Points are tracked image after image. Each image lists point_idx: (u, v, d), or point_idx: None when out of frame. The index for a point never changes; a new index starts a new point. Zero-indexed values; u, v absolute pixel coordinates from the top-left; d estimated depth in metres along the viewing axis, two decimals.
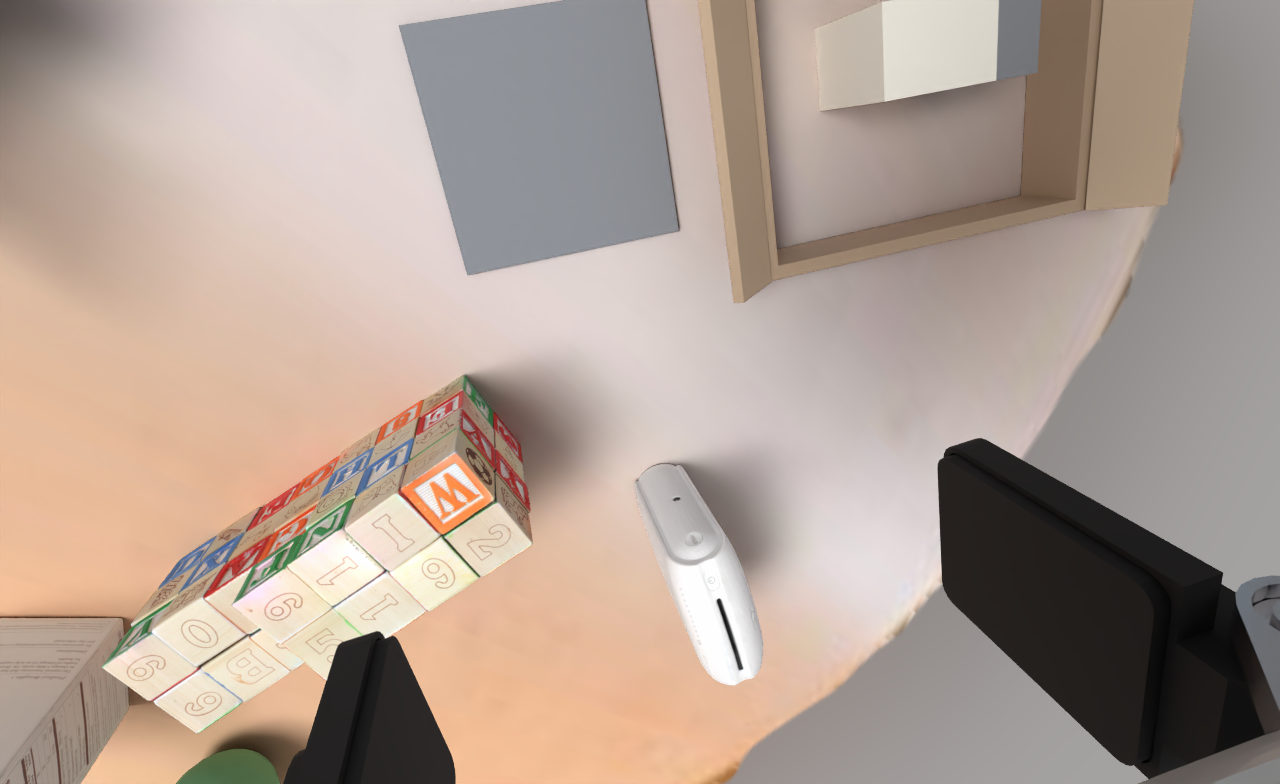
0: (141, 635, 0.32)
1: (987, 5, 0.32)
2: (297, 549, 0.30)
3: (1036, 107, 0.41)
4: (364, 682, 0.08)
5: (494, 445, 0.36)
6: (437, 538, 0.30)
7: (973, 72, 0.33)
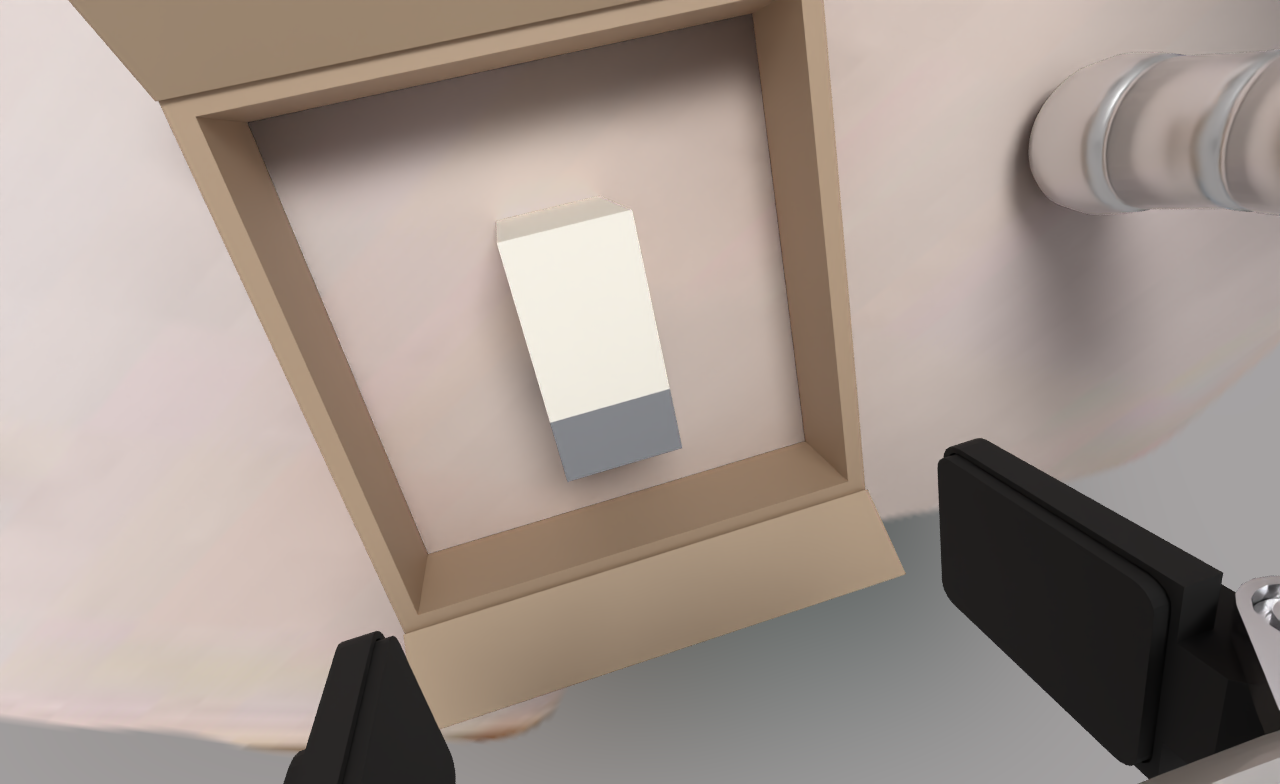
0: None
1: (641, 378, 0.23)
2: None
3: (539, 531, 0.31)
4: (364, 682, 0.08)
5: None
6: None
7: (556, 383, 0.22)
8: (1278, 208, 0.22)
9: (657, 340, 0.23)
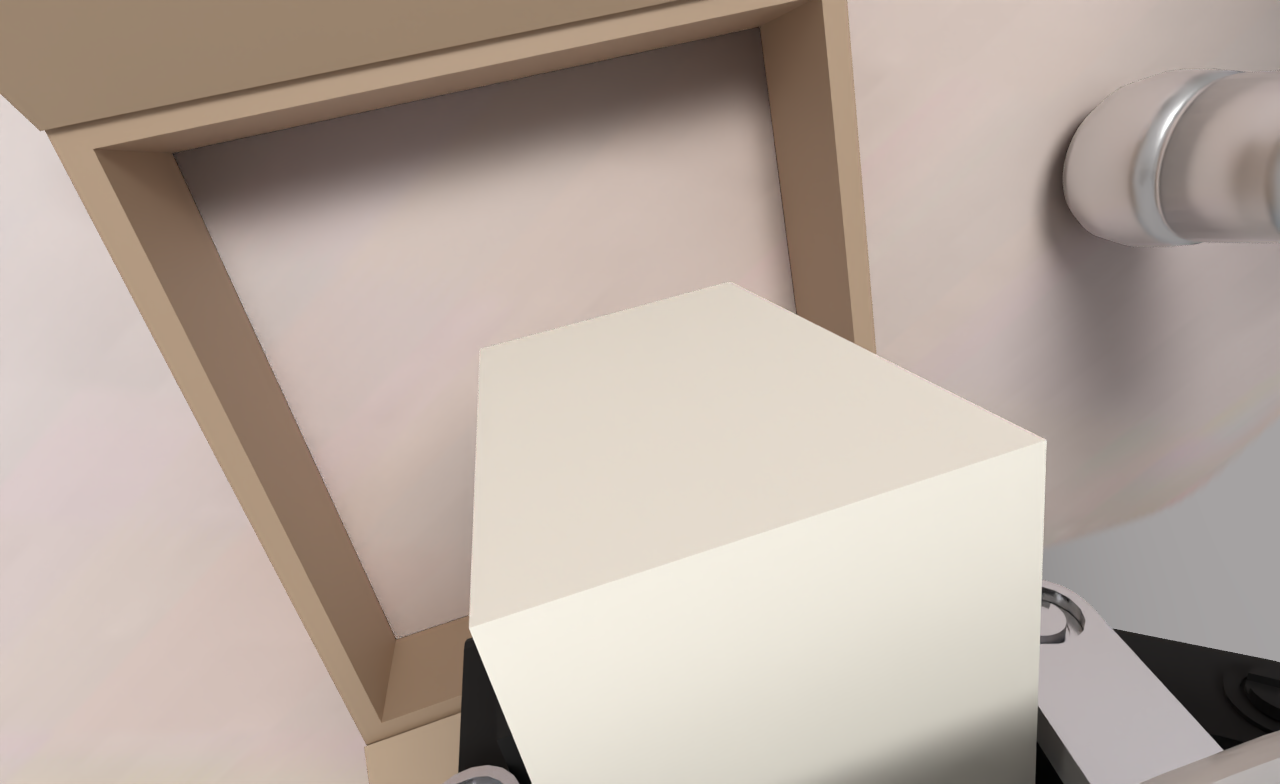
0: None
1: None
2: None
3: None
4: None
5: None
6: None
7: None
8: None
9: None
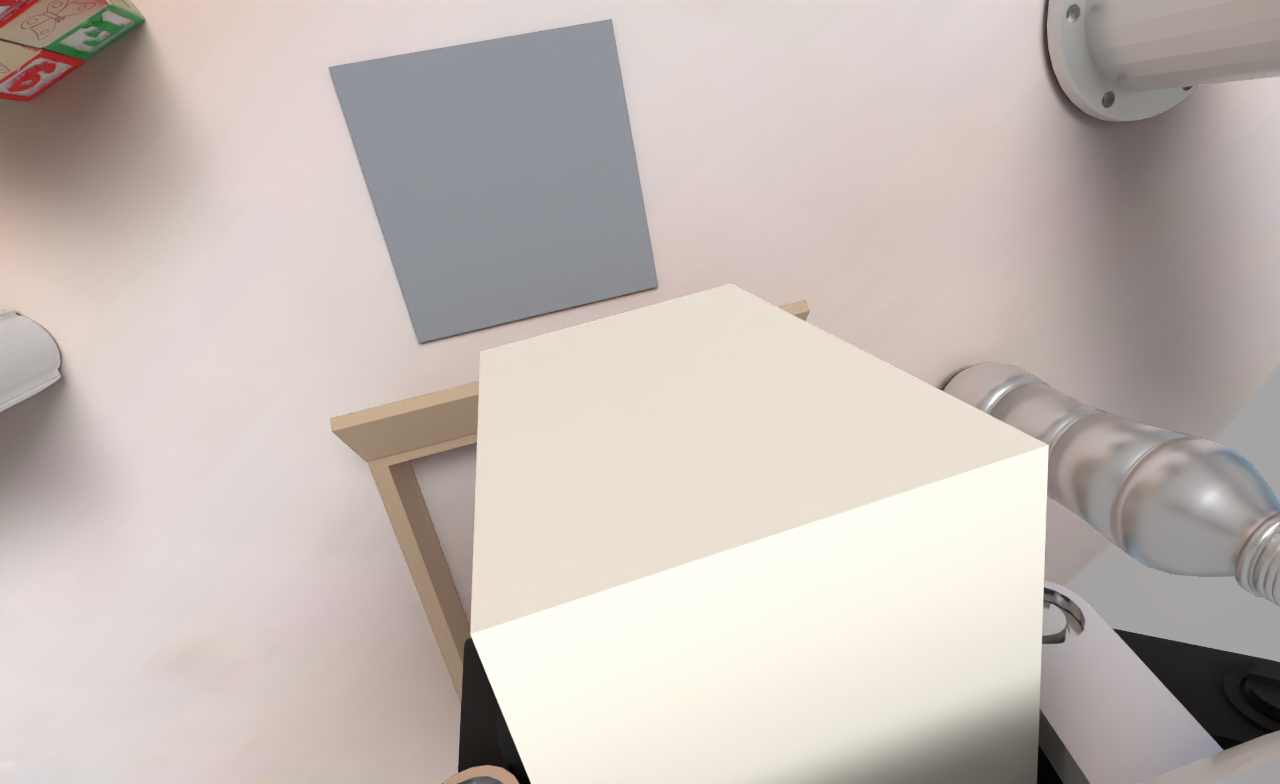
0: None
1: None
2: None
3: None
4: None
5: None
6: None
7: None
8: (1077, 514, 0.34)
9: None
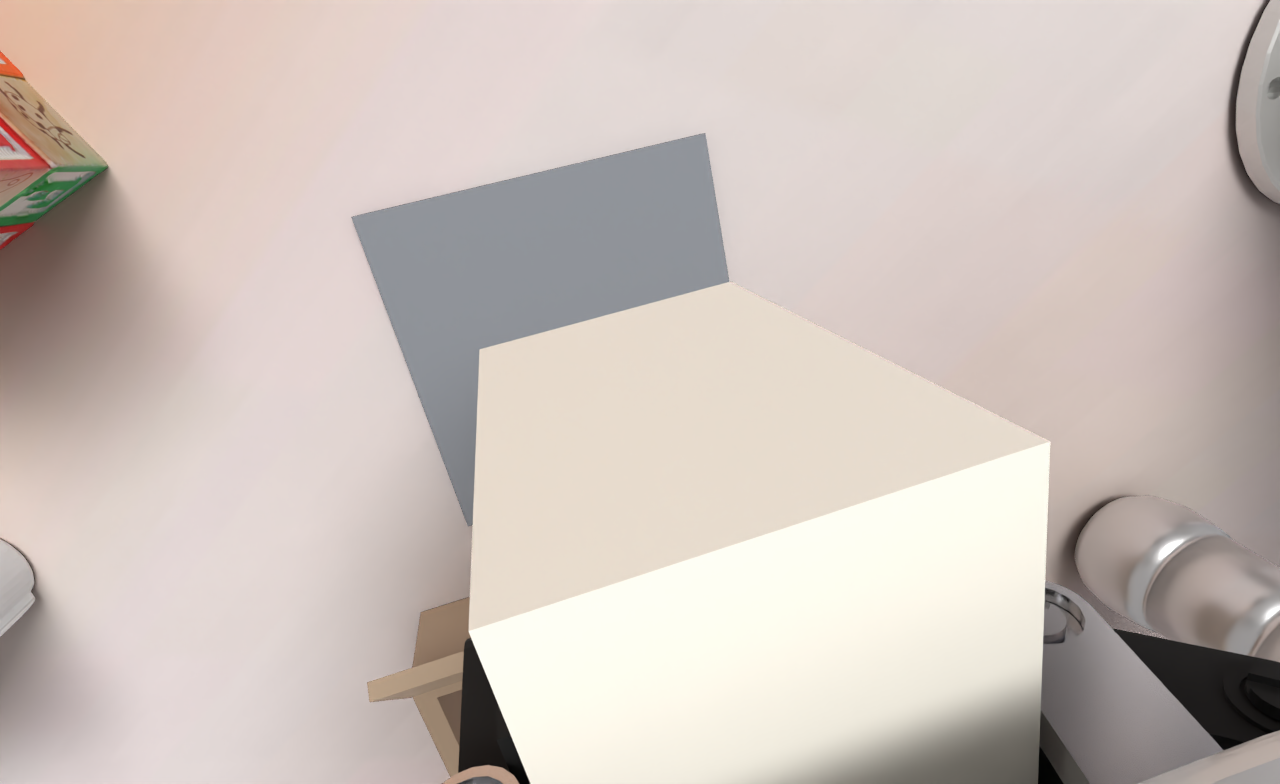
0: None
1: None
2: None
3: None
4: None
5: None
6: None
7: None
8: None
9: None
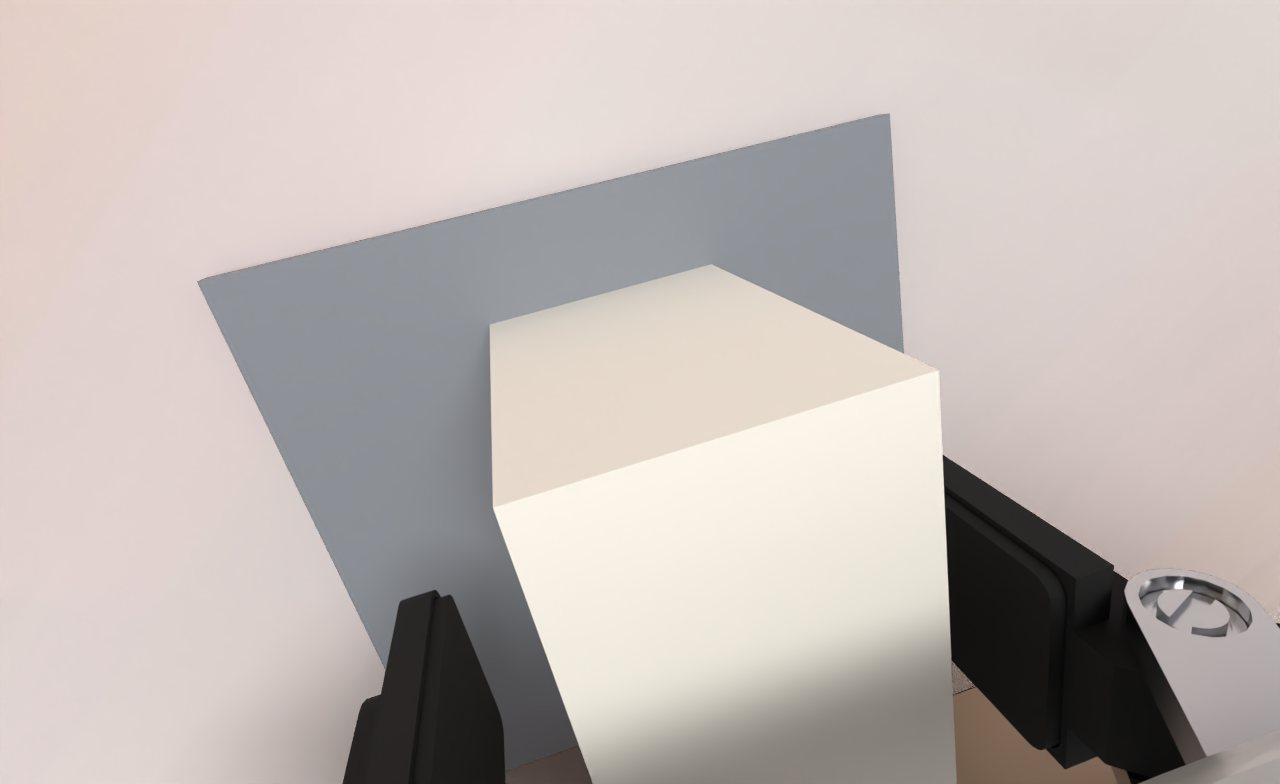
0: None
1: None
2: None
3: None
4: (429, 633, 0.09)
5: None
6: None
7: None
8: None
9: (948, 705, 0.08)
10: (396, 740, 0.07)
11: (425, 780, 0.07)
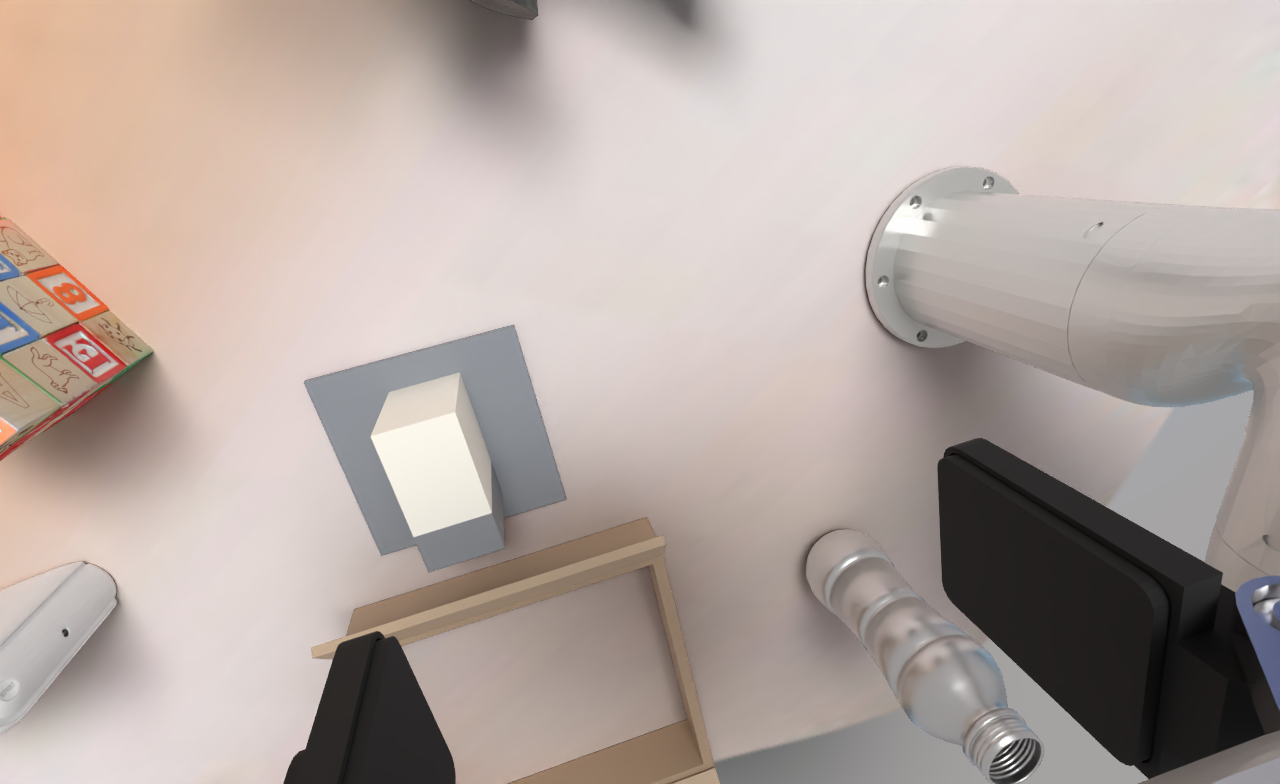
0: None
1: (472, 507, 0.36)
2: None
3: None
4: (364, 682, 0.08)
5: (54, 418, 0.32)
6: None
7: (415, 513, 0.36)
8: None
9: (480, 485, 0.36)
10: None
11: None
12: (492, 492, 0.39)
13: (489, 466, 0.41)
